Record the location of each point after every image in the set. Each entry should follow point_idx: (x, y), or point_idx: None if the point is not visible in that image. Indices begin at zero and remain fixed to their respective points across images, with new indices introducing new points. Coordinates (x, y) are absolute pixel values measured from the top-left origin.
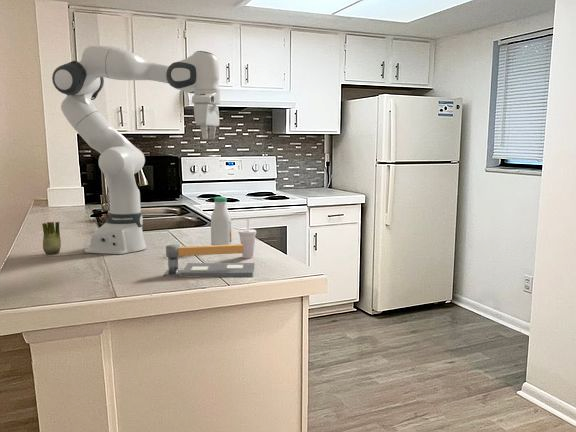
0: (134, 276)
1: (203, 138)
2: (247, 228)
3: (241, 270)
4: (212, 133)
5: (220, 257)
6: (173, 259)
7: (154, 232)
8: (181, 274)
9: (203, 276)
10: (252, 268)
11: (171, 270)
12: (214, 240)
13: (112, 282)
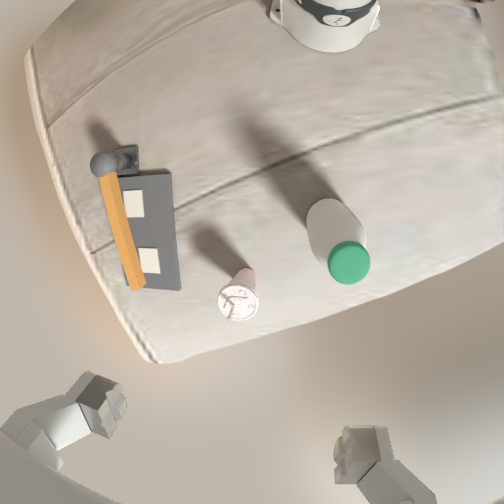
0: (115, 104)
1: (88, 378)
2: (232, 306)
3: None
4: (366, 479)
5: (245, 225)
6: None
7: (487, 66)
8: None
9: None
10: (147, 286)
11: None
12: (312, 211)
13: (91, 89)
